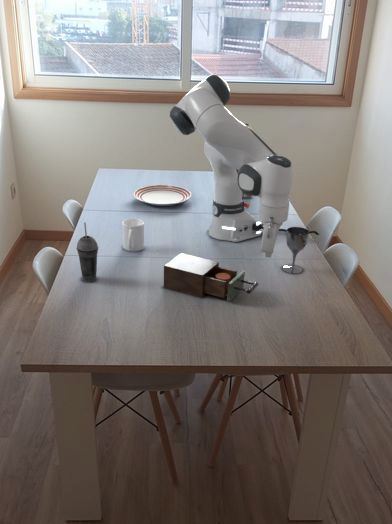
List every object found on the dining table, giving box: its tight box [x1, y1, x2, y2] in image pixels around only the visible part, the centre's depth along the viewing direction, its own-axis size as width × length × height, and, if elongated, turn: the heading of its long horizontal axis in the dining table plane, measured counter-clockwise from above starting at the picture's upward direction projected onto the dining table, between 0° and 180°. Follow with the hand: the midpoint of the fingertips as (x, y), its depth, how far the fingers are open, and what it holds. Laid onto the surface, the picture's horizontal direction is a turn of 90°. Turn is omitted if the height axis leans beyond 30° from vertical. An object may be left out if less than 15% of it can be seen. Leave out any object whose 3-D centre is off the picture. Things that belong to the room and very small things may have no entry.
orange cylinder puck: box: [215, 273, 230, 291], centre depth 194 cm, size 5×5×4 cm
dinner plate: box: [133, 184, 192, 207], centre depth 276 cm, size 28×27×3 cm
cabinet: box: [163, 252, 220, 298], centre depth 198 cm, size 15×13×8 cm
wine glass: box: [282, 226, 310, 274], centre depth 211 cm, size 8×8×15 cm
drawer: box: [203, 266, 259, 302], centre depth 193 cm, size 19×11×6 cm, turn 64°
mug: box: [121, 218, 145, 253], centre depth 222 cm, size 12×8×10 cm
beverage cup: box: [76, 222, 99, 283], centre depth 196 cm, size 7×7×20 cm
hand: (268, 255), depth 182 cm, fingers closed
